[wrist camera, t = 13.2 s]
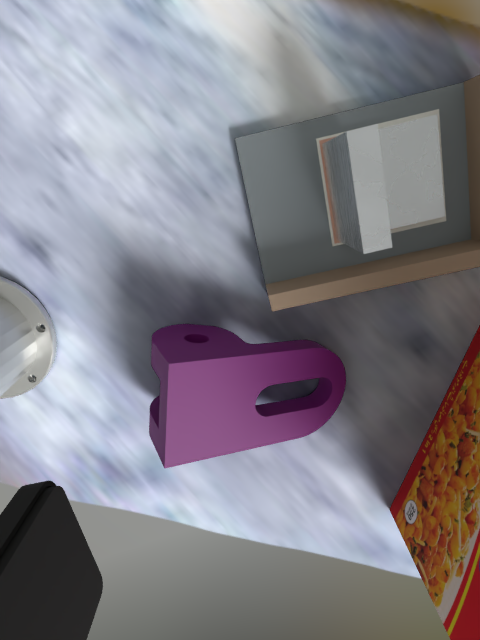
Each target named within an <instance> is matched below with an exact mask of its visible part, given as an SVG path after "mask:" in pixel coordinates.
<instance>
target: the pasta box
mask: <svg viewBox="0 0 480 640" xmlns="http://www.w3.org/2000/svg"><path fill="white" fill-rule="evenodd" d="M390 512H391V514H392V516H393V518H394V520H395V522H396V524H397V527H398V529H399V531H400V533H401V535H402V537H403V539H404V541H405V544H406V546H407V548H408V550H409V552H410V554H411V556H412V558H413V561H414V563H415V565H416V567H417V569H418V571H419V573H420V576H421V578H422V580H423V582H424V584H425V586H426V588H427V590H428V593H429V595H430V597H431V599H432V601H433V603H434V605H435V607H436V610H437V612H438V614H439V616H440V618H441V620H442V622H443V625H444V627H445V629H446V631H447V633H448V635H449V637H450V639H451V640H480V326H479V328H478V330H477V332H476V334H475V336H474V338H473V340H472V342H471V344H470V346H469V348H468V350H467V352H466V354H465V356H464V358H463V360H462V362H461V364H460V366H459V368H458V370H457V373H456V375H455V377H454V379H453V381H452V383H451V385H450V387H449V389H448V391H447V393H446V395H445V397H444V399H443V401H442V403H441V405H440V407H439V409H438V411H437V413H436V415H435V417H434V419H433V421H432V424H431V426H430V428H429V430H428V432H427V434H426V436H425V438H424V440H423V442H422V444H421V446H420V448H419V450H418V452H417V454H416V456H415V458H414V460H413V462H412V464H411V466H410V468H409V470H408V473H407V475H406V477H405V479H404V481H403V483H402V485H401V487H400V489H399V491H398V493H397V495H396V497H395V499H394V501H393V503H392V505H391V507H390Z"/></svg>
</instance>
